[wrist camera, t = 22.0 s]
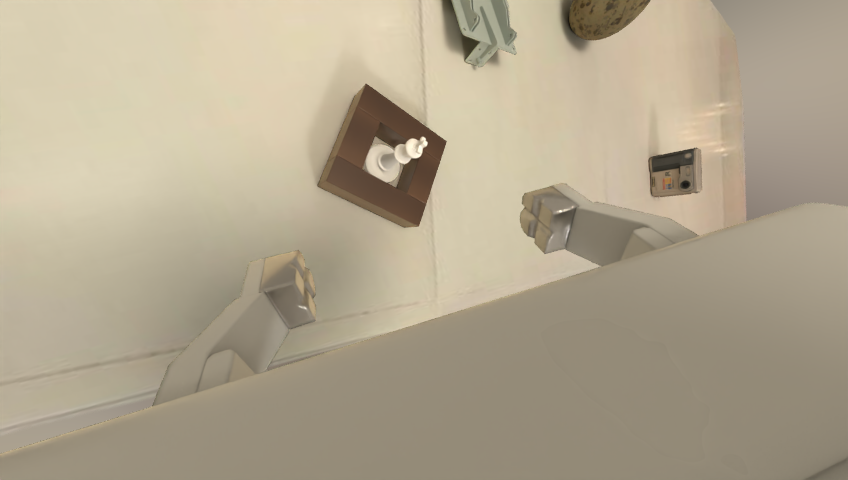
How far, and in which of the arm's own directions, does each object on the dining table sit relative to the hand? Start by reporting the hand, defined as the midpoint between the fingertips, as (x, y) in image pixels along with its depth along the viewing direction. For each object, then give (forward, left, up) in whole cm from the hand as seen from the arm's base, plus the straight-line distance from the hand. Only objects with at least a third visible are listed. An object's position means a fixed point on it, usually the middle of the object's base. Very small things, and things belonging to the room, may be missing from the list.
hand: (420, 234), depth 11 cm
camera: (-14, -94, -25) cm, 98 cm away
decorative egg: (+24, -65, -25) cm, 74 cm away
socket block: (+5, -13, -25) cm, 29 cm away
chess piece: (+5, -13, -25) cm, 29 cm away
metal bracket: (+23, -35, -25) cm, 49 cm away
